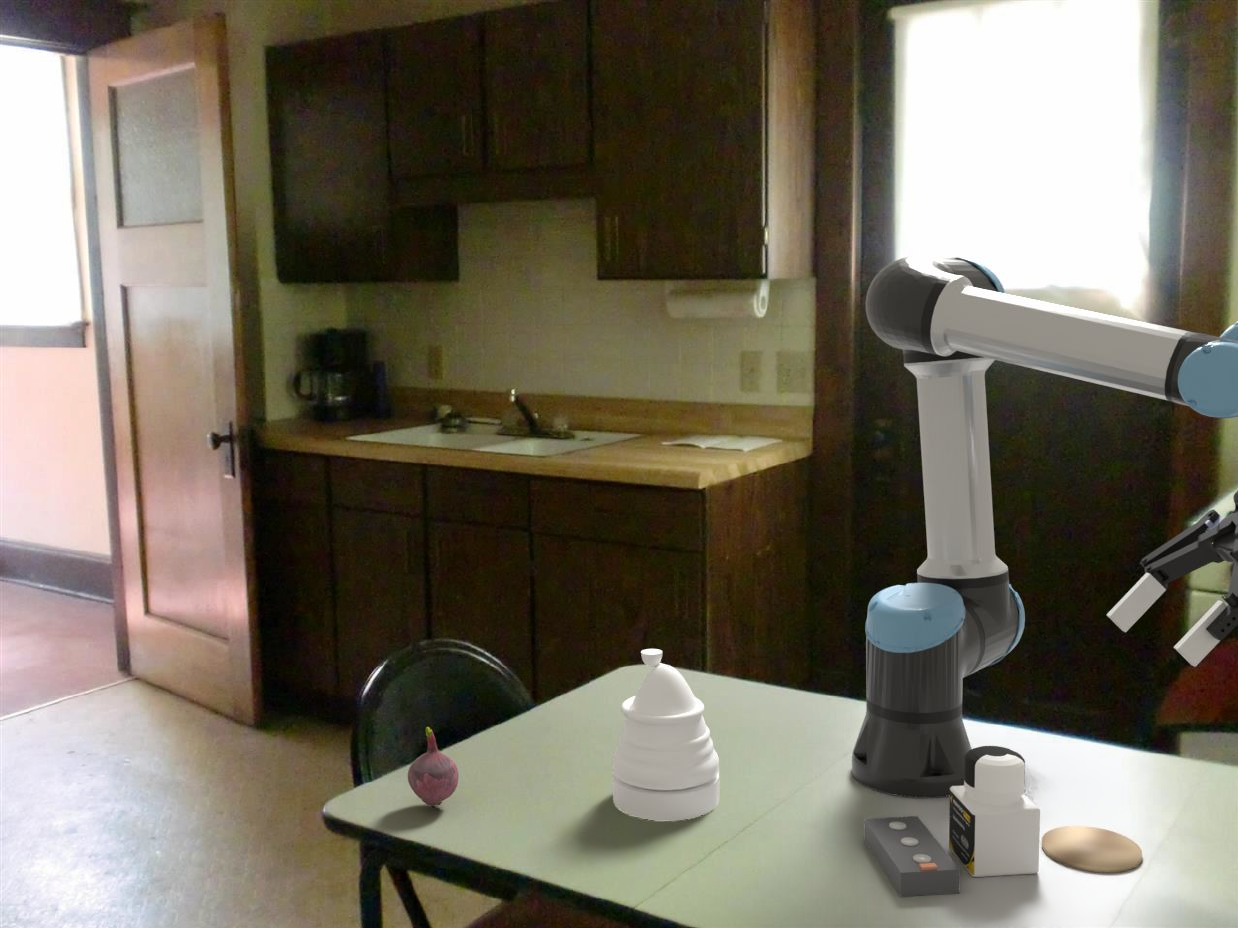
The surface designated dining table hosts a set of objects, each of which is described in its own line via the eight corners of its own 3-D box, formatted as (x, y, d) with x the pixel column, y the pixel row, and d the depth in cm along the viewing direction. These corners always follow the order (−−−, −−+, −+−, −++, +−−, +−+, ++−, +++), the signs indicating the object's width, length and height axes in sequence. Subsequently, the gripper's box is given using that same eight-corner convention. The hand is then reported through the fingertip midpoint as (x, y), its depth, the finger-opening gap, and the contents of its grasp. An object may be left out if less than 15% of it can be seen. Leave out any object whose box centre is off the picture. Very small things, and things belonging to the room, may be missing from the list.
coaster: (1029, 856, 128) (1030, 851, 128) (1056, 823, 136) (1056, 818, 136) (1129, 880, 122) (1129, 875, 122) (1151, 844, 130) (1151, 839, 130)
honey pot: (590, 801, 145) (587, 656, 142) (660, 771, 154) (658, 634, 152) (672, 831, 136) (670, 677, 134) (741, 796, 145) (740, 652, 143)
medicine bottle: (947, 848, 130) (949, 741, 129) (1011, 844, 131) (1013, 738, 129) (972, 878, 123) (974, 766, 122) (1039, 874, 124) (1042, 762, 122)
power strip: (864, 840, 132) (864, 815, 132) (917, 837, 133) (917, 813, 133) (900, 896, 120) (900, 869, 119) (959, 892, 120) (959, 866, 120)
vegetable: (434, 793, 148) (430, 715, 147) (471, 804, 145) (468, 724, 143) (398, 810, 143) (394, 729, 142) (435, 821, 140) (432, 739, 138)
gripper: (1397, 537, 114) (1243, 698, 115) (1239, 499, 139) (1112, 632, 140) (1347, 484, 113) (1191, 647, 114) (1197, 456, 138) (1069, 590, 138)
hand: (1148, 639), depth 127 cm, fingers open, 13 cm apart
